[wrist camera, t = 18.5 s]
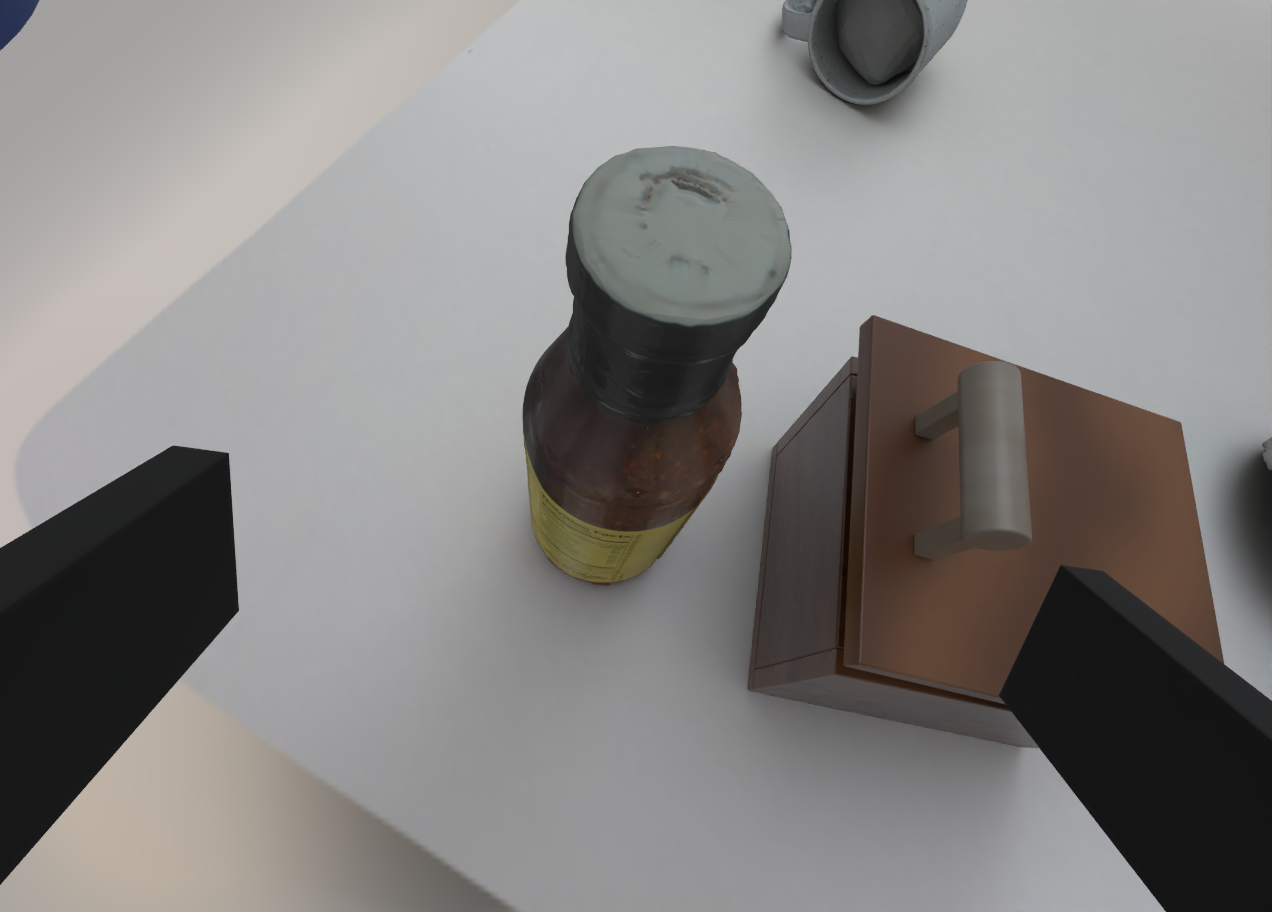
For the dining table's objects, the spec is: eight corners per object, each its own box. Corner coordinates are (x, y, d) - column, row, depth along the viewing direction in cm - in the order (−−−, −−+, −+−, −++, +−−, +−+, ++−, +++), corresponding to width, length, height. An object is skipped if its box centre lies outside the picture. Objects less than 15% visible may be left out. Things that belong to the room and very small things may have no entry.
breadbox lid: (841, 665, 18) (953, 653, 14) (858, 326, 23) (946, 246, 19) (1213, 754, 21) (1397, 764, 17) (1160, 430, 25) (1293, 377, 21)
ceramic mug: (936, 68, 46) (1007, -52, 39) (885, 128, 43) (953, 9, 36) (809, -6, 47) (856, -135, 40) (751, 47, 44) (791, -83, 37)
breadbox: (746, 690, 28) (834, 674, 20) (772, 447, 33) (851, 355, 25) (1023, 747, 29) (1214, 754, 21) (1009, 502, 33) (1160, 430, 25)
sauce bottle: (605, 434, 32) (706, 37, 13) (695, 530, 30) (939, 236, 12) (496, 519, 29) (439, 176, 11) (588, 627, 28) (697, 439, 10)
